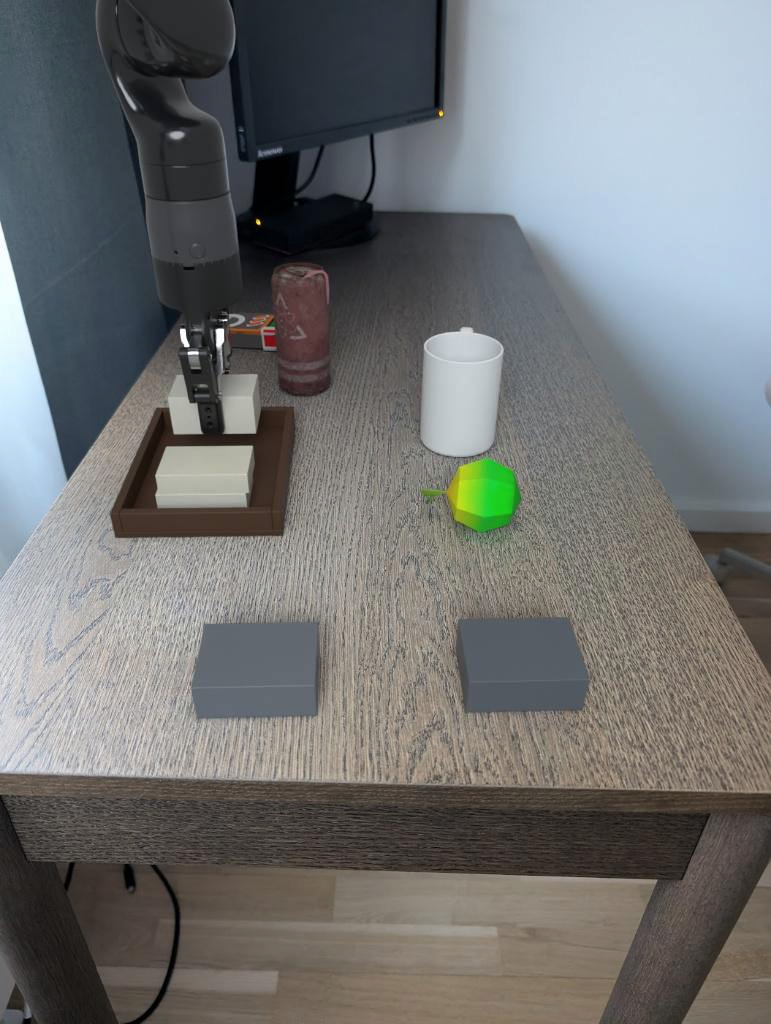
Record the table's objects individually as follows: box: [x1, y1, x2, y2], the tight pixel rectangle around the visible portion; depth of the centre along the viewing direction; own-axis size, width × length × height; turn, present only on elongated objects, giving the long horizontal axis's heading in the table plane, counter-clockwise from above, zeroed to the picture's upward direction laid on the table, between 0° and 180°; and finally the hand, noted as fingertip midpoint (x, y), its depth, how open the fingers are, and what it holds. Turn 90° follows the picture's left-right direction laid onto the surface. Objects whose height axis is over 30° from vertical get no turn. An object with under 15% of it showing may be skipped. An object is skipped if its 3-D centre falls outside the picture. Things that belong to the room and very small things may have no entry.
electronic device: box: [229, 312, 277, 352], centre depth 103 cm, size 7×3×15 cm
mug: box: [419, 326, 505, 458], centre depth 81 cm, size 12×8×10 cm, turn 172°
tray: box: [109, 405, 296, 539], centre depth 75 cm, size 15×20×3 cm
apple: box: [420, 457, 523, 534], centre depth 69 cm, size 7×6×9 cm
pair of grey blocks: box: [190, 616, 591, 719], centre depth 54 cm, size 26×6×3 cm, turn 92°
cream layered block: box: [155, 446, 255, 508], centre depth 71 cm, size 8×5×4 cm, turn 92°
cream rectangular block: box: [167, 373, 262, 434], centre depth 76 cm, size 8×5×4 cm, turn 92°
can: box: [270, 262, 331, 397], centre depth 88 cm, size 6×6×14 cm
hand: (217, 418), depth 77 cm, fingers closed on cream rectangular block, 5 cm apart
